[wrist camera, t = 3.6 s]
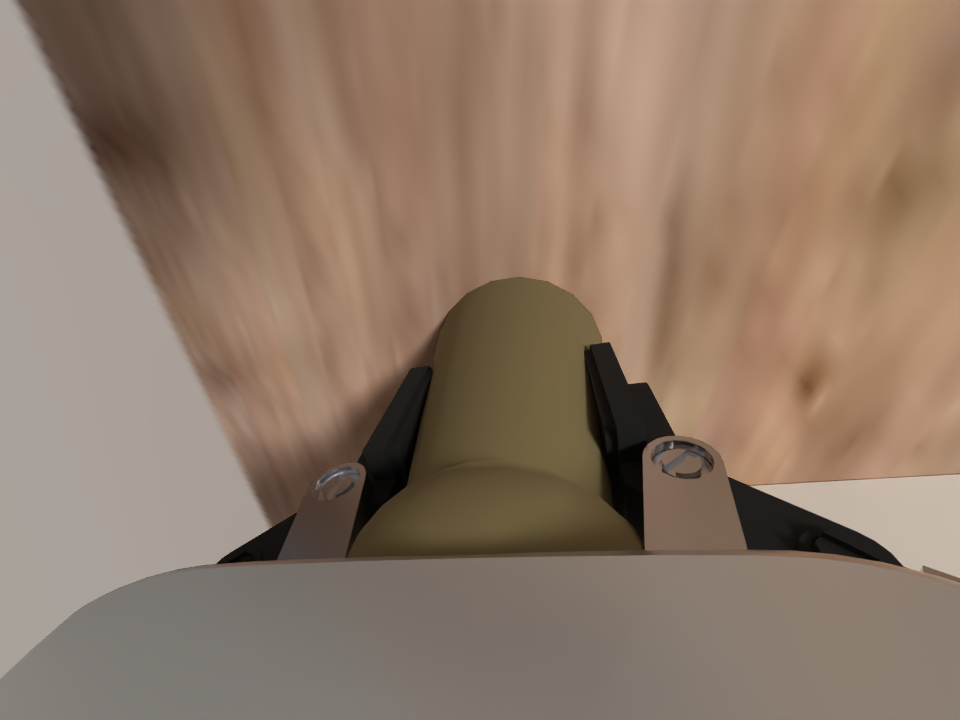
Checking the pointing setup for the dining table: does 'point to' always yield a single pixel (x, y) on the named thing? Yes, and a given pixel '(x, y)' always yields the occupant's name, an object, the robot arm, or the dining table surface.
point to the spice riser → (891, 514)
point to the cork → (506, 437)
